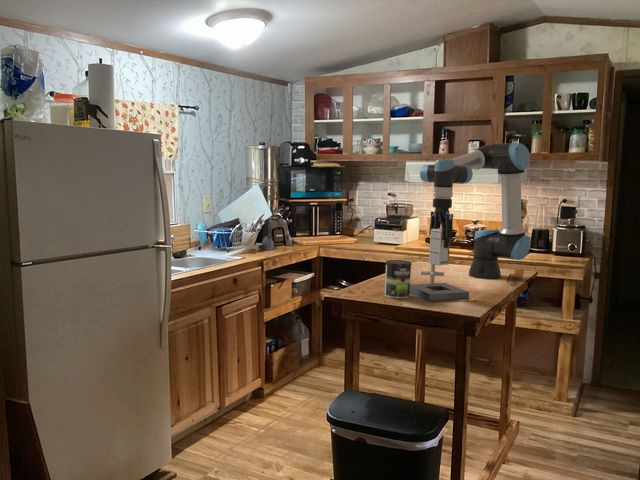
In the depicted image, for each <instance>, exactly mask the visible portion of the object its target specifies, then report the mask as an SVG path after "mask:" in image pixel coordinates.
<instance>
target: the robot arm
mask: <svg viewBox="0 0 640 480" xmlns="http://www.w3.org/2000/svg"><path fill="white" fill-rule="evenodd" d="M530 161H531V157H530V151H529V149H528V148H527V146H526V145H524V144H523V143H518V142H517V143H515V142H511V143H510V142H509V143H507V142H506V143H490V144H486V145H483V146H480V147H477V148H473V149H471V150H470V151H469V152H468V153H465V154H462V155H460V156H456V157H454V158H449V159H448V158H447V159H436V161H435V162H434V164H424V165H422V167H420V170H419V176H420V177H419V178H420V180H421V181H422V182H424V183H425V182H426V183H430V184H431V183H433V191H432V192H433V194H432V195H433V196H432V197H434V198H433V199H432V207H433V208H435V209H434V211H430V221H429V222H430V223H429V230H428V234H429V236H430V235H431V229H440V228H441V229H442V234H443V238H442V244H441V256H448V245H449V240H450V241H451V240H453V234H454V232H453V225H454V224H453V223H454V222H453V220H454V214H453V213H450V210H449V209H451V208H452V205H453V199H452V198H453V192H454V191H453V188H454V184H459V185H464V184H468V183H469V182H470V181H472V179H473V174H474V173H473V170H477V171H478V170H481V169H484V170H485V169H488V170H489V169H491V170H497V175H498V176H499V177H500V178H501V179H500V181H501V182H500V183H501V184H500V185H501V187H500V188H501V225H502V226H501V228H499V229H481V230H480V229H479V230H476V231H475V234H474V238H473V241H474V242H473V244H474V245H473V259H472V263H471V264H470V266H469V267H470V268H469V269H468V275H469V276H470V277H473V278H477V279H487V280H490V279H496V280H497V279H500V278H501V277H502V276H501V275H502V271H501V269H500V264H499V258H503V259H510V260H512V261H513V260H517V261H520V260H523V259H525V258H526V257H527V256H528V254H529V252H530V249H531V245H532V244H531V243H532V242H531V238H530V237H529V236H528V235H526V230H525V229H524V228H523V227H522V225H523V224H522V176H523V175H524V174H525V170H526V169H528V168H529V165H530ZM445 236H446V237H445Z"/></svg>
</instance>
